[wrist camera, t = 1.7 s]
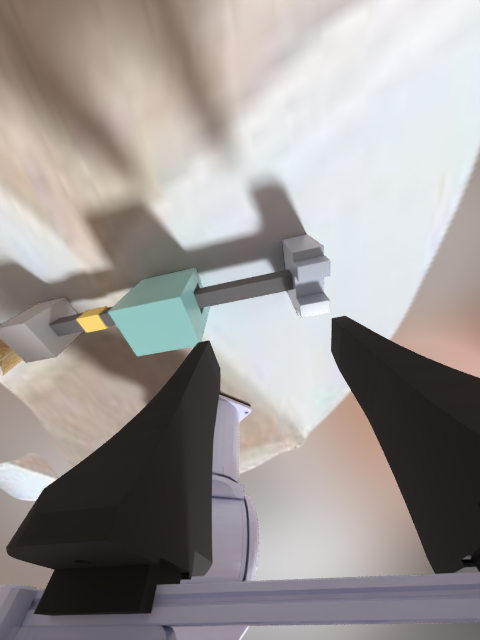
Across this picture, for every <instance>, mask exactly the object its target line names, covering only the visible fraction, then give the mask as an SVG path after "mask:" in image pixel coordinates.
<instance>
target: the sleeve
mask: <svg viewBox="0 0 480 640" xmlns="http://www.w3.org/2000/svg"><path fill="white" fill-rule="evenodd" d="M199 288H203V287H202V284H201V281H200V278H199V275H198V272H197V269H196V268H191V269H187V270H182V271H178V272H173V273H169V274H165V275H160V276H156V277H151V278H147V279H142V280H141V281H140V282H139V283H138V284H137V285H136V286H134V287H133V288H132V289H131V290H130V291H129V292H128V293H127V294H126V295H125V296H124V297H123V298H122V299H121V300H120V301H119V302H118V303H117V304H116V305H114V306H113V307H112V308H111V309H110V310H109V311H108V313H109V315H110V316H111V318H112V319H113V321H114V322H115V324H116V325H117V327H118V328H119V330H120V331H121V333H122V334H123V336H124V337H125V339H126V341H127V342H128V344H129V345H130V347H131V348H132V350H133V351H134V353H135V354H136V356H137V357H138V356H143V355H149V354H154V353H160V352H166V351H171V350H177V349H182V348H188V347H194V346H195V345H196V344H197V343H198V342H201V341H202V337H203V333H204V329H205V325H206V321H207V316H208V312H209V308H210V307H209V306H208V307H203V308H199V306H198V303H197V301H196V298H195V295H194V293H193V292H194V290H195V289H199Z"/></svg>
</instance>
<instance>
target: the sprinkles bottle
mask: <svg viewBox="0 0 480 640" xmlns="http://www.w3.org/2000/svg"><path fill="white" fill-rule="evenodd" d="M22 360H23V359H22V358H21V357H20V356H18V355H17V354H16V353H15V352H14V351H13V350H12V349H11V348H10V347H9V346H8V345H7V344H6V343H5V342H3V341H2V340H1V339H0V378H1V377H2V376H3V375H4V374H5V373H7V372H8V371H9V370H10V369H12V368H13V367H14V366H15V365H17V364H18V363H19V362H20V361H22Z"/></svg>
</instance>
